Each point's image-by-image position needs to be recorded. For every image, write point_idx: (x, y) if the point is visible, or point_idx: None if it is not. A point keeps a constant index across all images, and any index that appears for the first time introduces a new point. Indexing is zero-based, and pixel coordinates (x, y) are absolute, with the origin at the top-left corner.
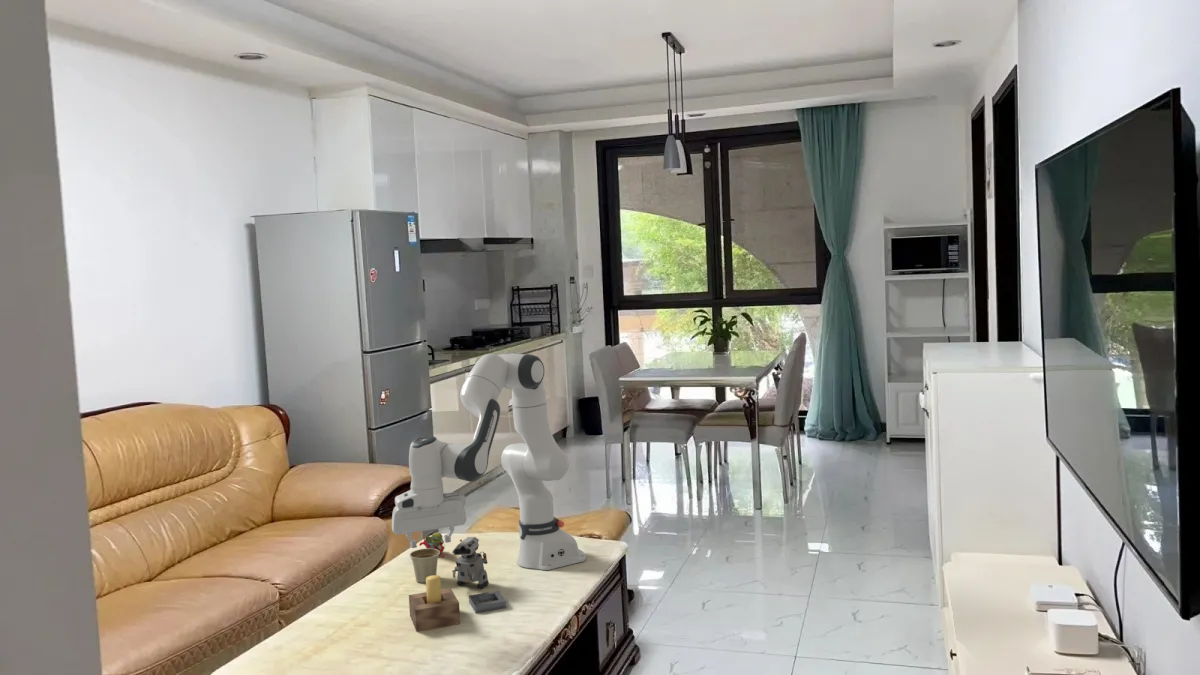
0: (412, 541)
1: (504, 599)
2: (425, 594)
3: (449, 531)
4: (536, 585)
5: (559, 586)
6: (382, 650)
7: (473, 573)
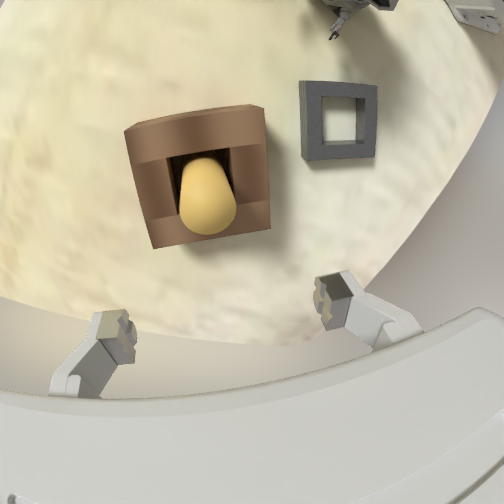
0: (112, 370)
1: (374, 146)
2: (177, 138)
3: (372, 325)
4: (435, 70)
5: (459, 101)
6: (107, 285)
7: (346, 14)
